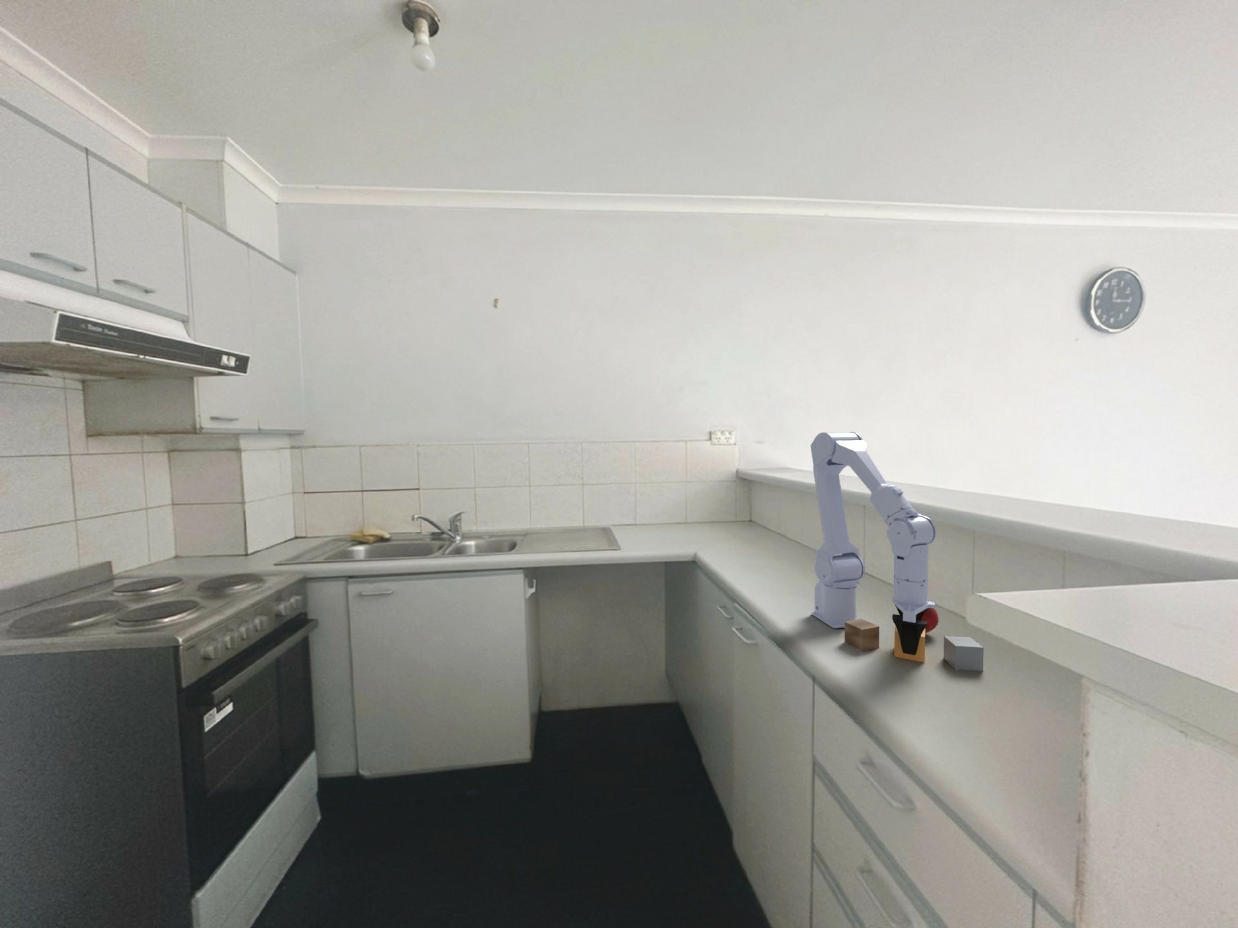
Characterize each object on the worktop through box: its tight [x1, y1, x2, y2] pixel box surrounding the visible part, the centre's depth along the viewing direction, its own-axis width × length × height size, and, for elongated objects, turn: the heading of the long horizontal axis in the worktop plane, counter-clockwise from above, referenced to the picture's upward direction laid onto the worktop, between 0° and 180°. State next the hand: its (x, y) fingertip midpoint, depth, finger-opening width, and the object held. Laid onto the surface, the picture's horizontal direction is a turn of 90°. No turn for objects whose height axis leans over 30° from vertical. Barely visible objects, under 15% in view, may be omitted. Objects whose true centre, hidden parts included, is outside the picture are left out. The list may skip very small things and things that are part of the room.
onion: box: [921, 608, 939, 634], centre depth 103 cm, size 6×6×8 cm
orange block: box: [893, 626, 926, 663], centre depth 93 cm, size 5×5×5 cm
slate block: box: [943, 635, 985, 672], centre depth 89 cm, size 4×4×4 cm
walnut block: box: [844, 618, 880, 652], centre depth 98 cm, size 4×4×4 cm
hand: (909, 646), depth 93 cm, fingers open, 7 cm apart
